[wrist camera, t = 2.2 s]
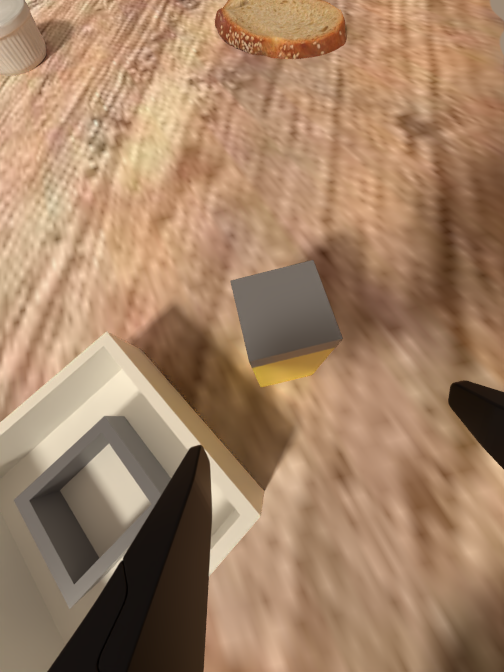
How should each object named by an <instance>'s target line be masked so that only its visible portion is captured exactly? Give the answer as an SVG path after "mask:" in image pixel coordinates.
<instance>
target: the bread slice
mask: <svg viewBox="0 0 504 672" xmlns="http://www.w3.org/2000/svg"><path fill="white" fill-rule="evenodd" d="M215 26H216V28H217V29H218V32H219V34H220V36H221V37H222V39H223V40H224V41H225V42H226V43H227V44H229V45H230V46H233V47H235V48H236V49H239V50H242V51H244V52H248V53H250V54H255V55H265V56H267V57H271V58H281V59H301V58H309V57H315V56H320V55H324V54H327V53H330V52H332V51H334V50H336V49H338V48H340V47H341V46H343V45H344V44H345V42H346V32H345V20H344V17H343V14H342V12H341V10H339V9H337V8H336V7H334V6H332V5H331V4H330V3H328V2H326V1H322V0H228V2H227V3H226V4H225V6H224V7H223V8H221V9H219V10H218V11H217V14H216V19H215Z"/></svg>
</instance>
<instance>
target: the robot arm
mask: <svg viewBox="0 0 504 672" xmlns="http://www.w3.org/2000/svg"><path fill="white" fill-rule="evenodd" d="M448 403H449V405H450V407H451V409H452V410H453V411H454V412H455V414H456V415H457V416H458V417H459V418H460V420H461V421H462V422H463V423H464V425H465V426H466V427H467V428H468V430H469V431H470V432H471V433H472V435H473V436H474V437H475V438H476V440H477V441H478V442H479V443H480V444H481V446H482V447H483V448H484V449H485V450H486V451H487V452H488V453H489V454H490V455H491V456H492V457H493V459H494V460H495V461H496V462H497V463H498V464H499V465H500V466H501V467H502V468H503V469H504V392H501V391H498V390H495V389H492V388H488V387H485V386H482V385H479V384H476V383H472V382H469V381H459V382H455V383H452V384H451V386H450V392H449V398H448ZM211 529H212V493H211V471H210V461H209V458H208V456H207V454H206V452H205V450H204V447H203V446H202V445H197V446H193V447H191V448H190V449H189V450H188V452H187V453H186V455H185V457H184V458H183V460H182V461H181V463H180V465H179V466H178V468H177V470H176V471H175V473H174V475H173V476H172V478H171V480H170V481H169V483H168V484H167V486H166V488H165V489H164V491H163V493H162V494H161V496H160V498H159V499H158V501H157V502H156V504H155V506H154V507H153V509H152V511H151V512H150V514H149V516H148V517H147V519H146V520H145V522H144V524H143V525H142V527H141V529H140V530H139V532H138V534H137V535H136V537H135V538H134V540H133V542H132V543H131V545H130V547H129V548H128V550H127V552H126V553H125V555H124V557H123V560H122V561H120V563H119V565H118V566H117V568H116V569H115V571H114V573H113V574H112V576H111V578H110V579H109V581H108V582H107V584H106V586H105V587H104V589H103V590H102V592H101V593H100V595H99V597H98V598H97V600H96V601H95V603H94V604H93V606H92V607H91V609H90V610H89V612H88V613H87V615H86V616H85V618H84V619H83V621H82V622H81V624H80V625H79V627H78V628H77V629H76V631H75V632H74V634H73V635H72V637H71V638H70V640H69V641H68V642H67V644H66V645H65V647H64V648H63V650H62V651H61V652H60V654H59V655H58V657H57V658H56V660H55V661H54V663H53V664H52V665H51V667H50V668H49V670H48V671H47V672H203V671H204V654H205V636H206V618H207V600H208V582H209V565H210V547H211Z"/></svg>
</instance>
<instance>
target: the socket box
mask: <svg viewBox="0 0 504 672" xmlns="http://www.w3.org/2000/svg"><path fill="white" fill-rule="evenodd" d="M197 445H202V446H203V447H204V450H205V452H206V454H207V456H208V458H209V461H210V471H211V493H212V529H211V547H210V565H209V576H210V575H211V573H212V572H213V571H214V570H215V569H216V568H217V566H218V565H219V564H220V563H221V562H222V561H223V559H224V558H225V557H226V556H227V555H228V554H229V553H230V551H231V550H232V549H233V548H234V547H235V546H236V544H237V543H238V542H239V541H240V540H241V539H242V537H243V536H244V535H245V534H246V533H247V532H248V530H249V529H250V528H251V527H252V526H253V525H254V523H255V522H256V521H257V520H258V519H259V518H260V516H261V511H262V504H263V497H264V490H263V489H262V488H261V487H260V486H259V485H258V484H257V482H256V481H255V480H254V479H253V478H252V477H251V475H250V474H249V473H248V472H247V471H246V470H245V469H244V467H243V466H242V465H241V464H240V463H239V462H238V461H237V459H236V458H235V457H234V456H233V455H232V454H231V452H230V451H229V450H228V449H227V448H226V447H225V446H224V444H223V443H222V442H221V441H220V440H219V439H218V437H217V436H216V435H215V434H214V433H213V432H212V431H211V429H210V428H209V427H208V426H207V425H206V424H205V423H204V421H203V420H202V419H201V418H200V417H199V416H198V414H197V413H196V412H195V411H194V410H193V409H192V408H191V406H190V405H189V404H188V403H187V402H186V401H185V399H184V398H183V397H182V396H181V395H180V394H179V393H178V391H177V390H176V389H175V388H174V387H173V386H172V385H171V383H170V382H169V381H168V380H167V379H166V378H165V376H164V375H163V374H162V373H161V372H160V371H159V370H158V368H157V367H156V366H155V365H154V364H153V363H152V361H151V360H150V359H149V358H148V357H147V356H146V355H145V353H144V352H143V351H142V350H141V349H139V348H137V347H135V346H134V345H132V344H130V343H128V342H126V341H124V340H122V339H120V338H118V337H116V336H114V335H112V334H111V333H109V332H107V331H106V332H105V333H104V334H103V335H102V336H101V337H99V338H98V339H97V340H96V341H95V342H94V343H92V344H91V345H90V346H89V347H88V348H87V349H85V350H84V351H83V352H82V353H81V354H80V355H78V356H77V357H76V358H75V359H74V360H73V361H71V362H70V363H69V364H68V365H67V366H66V367H64V368H63V369H62V370H61V371H60V372H59V373H57V374H56V375H55V376H54V377H53V378H52V379H50V380H49V381H48V382H47V383H46V384H45V385H43V386H42V387H41V388H40V389H39V390H38V391H36V392H35V393H34V394H33V395H32V396H31V397H29V398H28V399H27V400H26V401H25V402H24V403H22V404H21V405H20V406H19V407H18V408H17V409H15V410H14V411H13V412H12V413H11V414H10V415H8V416H7V417H6V418H5V419H4V420H3V421H1V422H0V672H47V671H48V670H49V668H50V667H51V665H52V664H53V663H54V661H55V660H56V658H57V657H58V655H59V654H60V652H61V651H62V650H63V648H64V647H65V645H66V644H67V642H68V641H69V640H70V638H71V637H72V635H73V634H74V632H75V631H76V629H77V628H78V627H79V625H80V624H81V622H82V621H83V619H84V618H85V616H86V615H87V613H88V612H89V610H90V609H91V607H92V606H93V604H94V603H95V601H96V600H97V598H98V597H99V595H100V593H101V592H102V590H103V589H104V587H105V586H106V584H107V582H108V581H109V579H110V578H111V576H112V574H113V573H114V571H115V569H116V568H117V566H118V565H119V563H120V561H122V560H123V557H124V555H125V553H126V552H127V550H128V548H129V547H130V545H131V543H132V542H133V540H134V538H135V537H136V535H137V534H138V532H139V530H140V529H141V527H142V525H143V524H144V522H145V520H146V519H147V517H148V516H149V514H150V512H151V511H152V509H153V507H154V506H155V504H156V502H157V501H158V499H159V498H160V496H161V494H162V493H163V491H164V489H165V488H166V486H167V484H168V483H169V481H170V480H171V478H172V476H173V475H174V473H175V471H176V470H177V468H178V466H179V465H180V463H181V461H182V460H183V458H184V457H185V455H186V453H187V452H188V450H189V449H190V448H191V447H193V446H197Z"/></svg>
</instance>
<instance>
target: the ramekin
mask: <svg viewBox="0 0 504 672" xmlns="http://www.w3.org/2000/svg"><path fill="white" fill-rule="evenodd" d="M45 56H46V44H45V42H44V39H43V37H42V35H41V33H40V31H39V29H38V27H37V25H36V23H35V21H34V19H33V17H32V15H31V13H30V9H29V7H28V5H27V3H26V2H25V0H0V74H2V75H5V76H15V75H20V74H23V73H26V72H28V71H30V70H32V69H34V68H35V67H37V66H38V65H39V64H40V63H41V62H42V61H43V60H44V58H45Z"/></svg>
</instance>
